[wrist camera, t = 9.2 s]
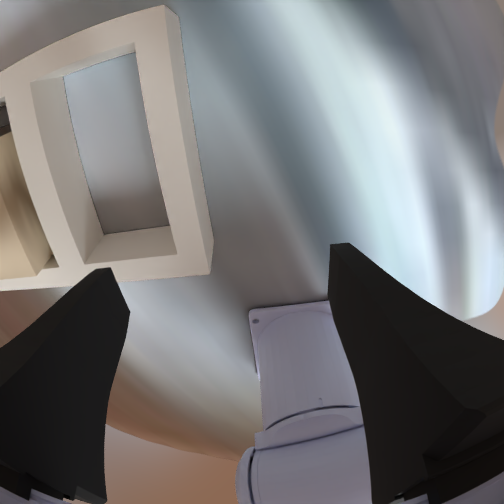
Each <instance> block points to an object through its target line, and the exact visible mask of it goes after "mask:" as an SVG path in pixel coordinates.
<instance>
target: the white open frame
mask: <svg viewBox="0 0 504 504" xmlns="http://www.w3.org/2000/svg"><path fill="white" fill-rule="evenodd" d="M133 52H136V57H137V64H138V71H139V78H140V84H141V90H142V96H143V102H144V107H145V113H146V118H147V124H148V129H149V134H150V139H151V144H152V149H153V154H154V159H155V163H156V168H157V172H158V177H159V181H160V186H161V190H162V194H163V199H164V203H165V207H166V211H167V215H168V219H169V223H170V226H164V227H156V228H149V229H141V230H134V231H127V232H120V233H113V234H106V235H104V233H103V231H102V228H101V225H100V222H99V219H98V216H97V213H96V210H95V207H94V204H93V201H92V197H91V194H90V191H89V188H88V184H87V181H86V177H85V174H84V170H83V167H82V163H81V159H80V156H79V152H78V148H77V144H76V140H75V135H74V131H73V127H72V122H71V118H70V113H69V108H68V103H67V98H66V92H65V87H64V81H63V77H64V76H66V75H68V74H71V73H74V72H76V71H79V70H81V69H84V68H87V67H89V66H92V65H95V64H98V63H101V62H104V61H107V60H110V59H113V58H116V57H120V56H123V55H126V54H130V53H133ZM5 104H6V106H7V112H8V117H9V121H10V126H11V130H12V134H13V138H14V142H15V146H16V150H17V154H18V157H19V161H20V164H21V168H22V171H23V174H24V178H25V181H26V184H27V187H28V190H29V193H30V196H31V199H32V202H33V204H34V207H35V210H36V213H37V215H38V218H39V220H40V223H41V226H42V228H43V230H44V233H45V235H46V238H47V240H48V243H49V245H50V247H51V249H52V252H53V255H52V256H51V257H50V259H49V260H48V261H47V263H46V264H45V265H44V267H43V268H42V269H41V271H40V272H39V273H38V275H37V276H34V277H23V278H13V279H3V280H0V291H6V290H22V289H37V288H52V287H66V286H75V285H76V284H77V283H78V282H79V281H81V280H82V279H83V278H84V277H85V276H87V275H88V274H89V273H91V272H92V271H93V270H95V269H98V268H107V267H111V269H112V271H113V274H114V276H115V279H116V281H117V282H129V281H141V280H153V279H164V278H175V277H186V276H197V275H207V274H210V271H211V263H212V255H213V247H214V237H213V232H212V227H211V221H210V216H209V210H208V205H207V199H206V194H205V188H204V182H203V176H202V171H201V165H200V159H199V153H198V147H197V141H196V134H195V128H194V122H193V115H192V109H191V102H190V95H189V89H188V82H187V75H186V67H185V60H184V53H183V45H182V37H181V29H180V21H179V16H177V15H176V14H175V13H174V12H173V11H171V10H170V9H169V8H168V7H166V6H165V5H164V4H163V5H159V6H155V7H151V8H147V9H144V10H140V11H137V12H133V13H130V14H126V15H123V16H120V17H117V18H114V19H111V20H108V21H105V22H103V23H100V24H97V25H94V26H92V27H89V28H87V29H84V30H82V31H79V32H77V33H74V34H72V35H70V36H67V37H65V38H63V39H61V40H59V41H56V42H54V43H52V44H50V45H48V46H46V47H44V48H42V49H40V50H38V51H36V52H34V53H32V54H31V55H29V56H27V57H25V58H23V59H21V60H20V61H18V62H16V63H15V64H13V65H11V66H9V67H8V68H6V69H5V70H3V71H1V72H0V107H2V106H4V105H5Z"/></svg>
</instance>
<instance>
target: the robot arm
mask: <svg viewBox="0 0 504 504" xmlns="http://www.w3.org/2000/svg"><path fill="white" fill-rule="evenodd" d="M328 299H329V301H321V302H313V303H305V304H297V305H288V306H279V307H269V308H259V309H252V310H250V311H249V314H248V315H249V323H250V329H251V336H252V342H253V348H254V355H255V361H256V367H257V373H258V379H259V380H260V387H261V403H262V419H263V431H262V432H258V433H255V447H251V448H248V449H247V450H246V451H245V452H244V454H243V456H242V458H241V459H240V461H239V463H238V466H237V470H236V480H235V484H236V494H237V499H238V503H239V504H504V340H502V339H499V338H497V337H494V336H492V335H489V334H487V333H485V332H483V331H481V330H478V329H476V328H473V327H472V326H470V325H468V324H466V323H464V322H462V321H460V320H458V319H456V318H454V317H453V316H451V315H449V314H447V313H445V312H444V311H442V310H440V309H439V308H437V307H435V306H434V305H432V304H431V303H429V302H427V301H426V300H424V299H423V298H421V297H420V296H418V295H417V294H415V293H414V292H412V291H411V290H410V289H408V288H407V287H405V286H404V285H402V284H401V283H400V282H398V281H397V280H396V279H394V278H393V277H392V276H391V275H389V274H388V273H387V272H385V271H384V270H383V269H382V268H380V267H379V266H378V265H377V264H375V263H374V262H373V261H372V260H370V259H369V258H368V257H367V256H365V255H364V254H363V253H362V252H360V251H359V250H358V249H357V248H355V247H354V246H353V245H351V244H350V243H340V244H331V245H330V262H329V280H328ZM129 316H130V310H129V308H128V306H127V304H126V302H125V299H124V297H123V295H122V293H121V290H120V288H119V286H118V283H117V281H116V279H115V276H114V274H113V271H112V269H111V267H107V268H98V269H95V270H93V271H92V272H91V273H89V274H88V275H87V276H85V277H84V278H83V279H82V280H81V281H79V282H78V283H77V284H76V285H75V286H74V287H73V288H71V289H70V290H69V291H68V292H67V293H66V294H65V295H64V296H63V297H61V298H60V299H59V300H58V301H57V302H56V303H55V304H54V305H53V306H52V307H50V308H49V309H48V310H47V311H46V312H45V313H44V314H42V315H41V316H40V317H39V318H38V319H37V320H36V321H35V322H34V323H32V324H31V325H30V326H29V327H28V328H26V329H25V330H24V331H23V332H21V333H20V334H19V335H18V336H16V337H15V338H14V339H12V340H11V341H10V342H8V343H7V344H6V345H4V346H3V347H1V348H0V504H71V503H68V502H65V501H63V498H66V499H69V500H72V501H73V500H74V499H77V500H80V501H84V502H87V503H91V504H104V503H106V502H107V495H106V486H105V474H104V439H105V438H104V437H105V424H106V415H107V407H108V400H109V396H110V391H111V387H112V383H113V380H114V376H115V373H116V369H117V366H118V362H119V359H120V356H121V352H122V349H123V345H124V342H125V339H126V334H127V328H128V322H129ZM254 319H258V320H254Z"/></svg>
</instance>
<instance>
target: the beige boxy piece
mask: <svg viewBox="0 0 504 504" xmlns="http://www.w3.org/2000/svg"><path fill="white" fill-rule="evenodd" d="M52 255H53V252H52V249H51V247H50V245H49V243H48V240H47V238H46V235H45V233H44V230H43V228H42V226H41V223H40V220H39V218H38V215H37V213H36V210H35V207H34V204H33V202H32V199H31V196H30V193H29V190H28V187H27V184H26V181H25V178H24V174H23V171H22V168H21V164H20V161H19V157H18V154H17V150H16V146H15V142H14V138H13V134H12V130H11V126H10V124H9V125H6V126H4V127H2V128H0V280H3V279H13V278H23V277H34V276H37V275H38V273H39V272H40V271H41V269H42V268H43V267H44V265H45V264H46V263H47V261H48V260H49V259H50V257H51V256H52Z"/></svg>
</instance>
